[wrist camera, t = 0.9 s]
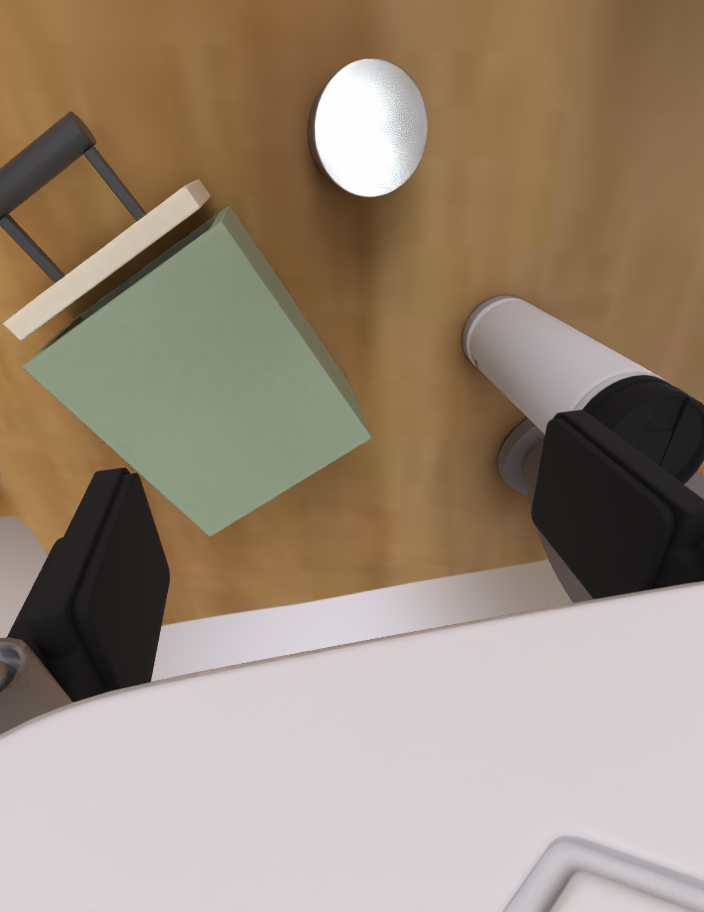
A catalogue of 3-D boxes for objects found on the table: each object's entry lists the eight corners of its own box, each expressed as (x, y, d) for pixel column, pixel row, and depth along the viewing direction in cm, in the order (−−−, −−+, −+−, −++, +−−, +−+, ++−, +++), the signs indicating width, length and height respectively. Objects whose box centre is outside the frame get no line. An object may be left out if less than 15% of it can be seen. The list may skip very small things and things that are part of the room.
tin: (294, 83, 30) (300, 72, 26) (398, 59, 30) (421, 45, 26) (319, 201, 34) (327, 209, 30) (411, 179, 34) (433, 183, 30)
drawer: (-25, 215, 30) (-96, 232, 24) (135, 86, 28) (101, 68, 22) (196, 442, 41) (185, 495, 35) (323, 359, 39) (336, 399, 33)
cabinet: (73, 319, 35) (21, 367, 27) (229, 204, 33) (221, 221, 25) (217, 467, 43) (209, 537, 36) (350, 383, 41) (372, 438, 34)
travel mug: (454, 372, 42) (584, 517, 26) (468, 293, 39) (631, 401, 22) (521, 372, 43) (689, 512, 27) (542, 295, 40) (748, 400, 23)
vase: (580, 358, 44) (1244, 788, 14) (633, 446, 50) (1167, 868, 21) (460, 451, 47) (803, 958, 17) (524, 522, 53) (854, 982, 24)
